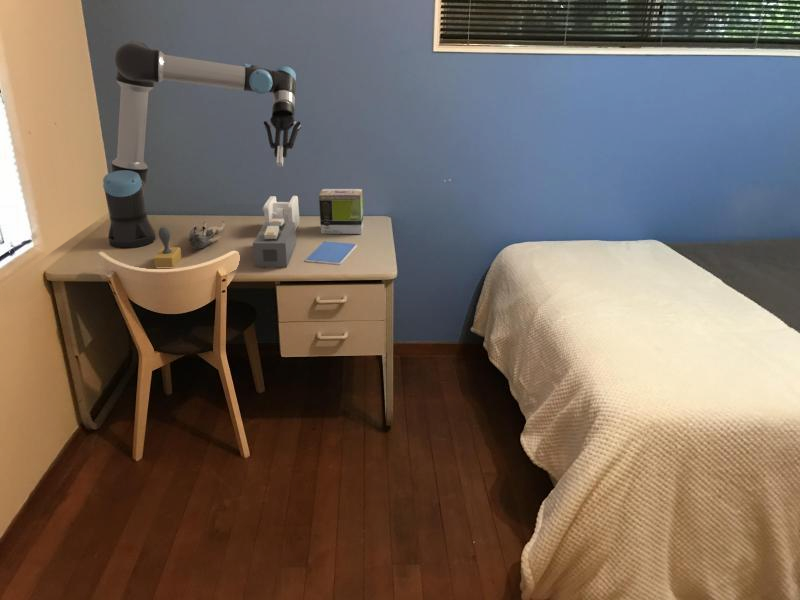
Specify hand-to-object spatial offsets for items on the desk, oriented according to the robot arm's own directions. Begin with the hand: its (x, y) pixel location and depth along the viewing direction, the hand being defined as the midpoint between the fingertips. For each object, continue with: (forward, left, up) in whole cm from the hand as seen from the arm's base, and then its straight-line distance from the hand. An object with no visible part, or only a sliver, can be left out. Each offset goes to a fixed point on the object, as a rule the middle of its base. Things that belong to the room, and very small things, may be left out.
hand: (279, 164), depth 208 cm
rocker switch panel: (0, -19, -26) cm, 32 cm away
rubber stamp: (-33, -26, -26) cm, 49 cm away
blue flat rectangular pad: (+18, -17, -27) cm, 36 cm away
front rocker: (0, -24, -17) cm, 29 cm away
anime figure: (-27, -4, -26) cm, 38 cm away
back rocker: (0, -13, -17) cm, 21 cm away
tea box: (+20, +8, -26) cm, 34 cm away
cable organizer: (-2, +8, -26) cm, 28 cm away
